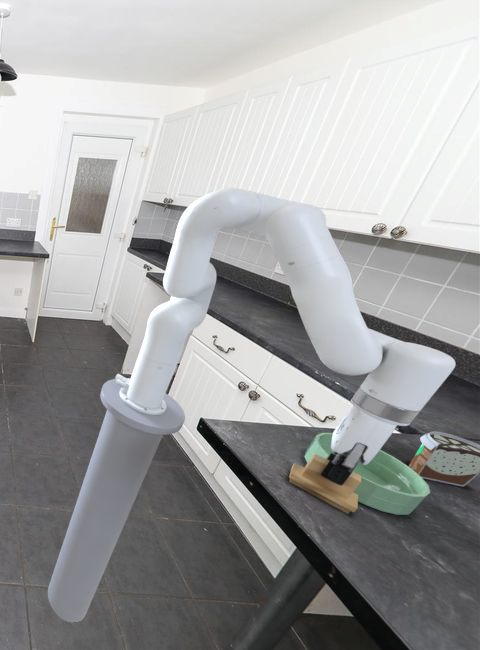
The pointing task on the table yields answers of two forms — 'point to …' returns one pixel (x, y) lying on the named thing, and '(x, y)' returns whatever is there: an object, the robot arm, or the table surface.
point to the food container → (447, 459)
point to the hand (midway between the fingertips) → (331, 475)
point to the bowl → (380, 480)
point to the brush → (326, 484)
